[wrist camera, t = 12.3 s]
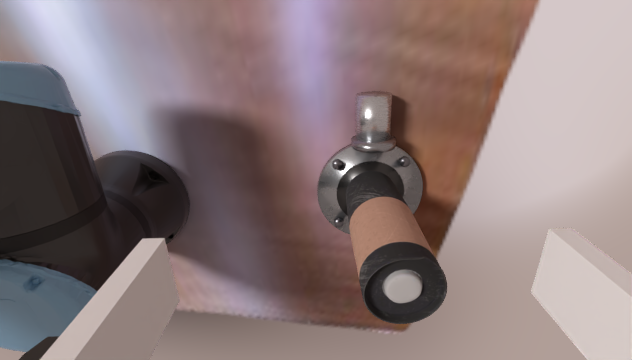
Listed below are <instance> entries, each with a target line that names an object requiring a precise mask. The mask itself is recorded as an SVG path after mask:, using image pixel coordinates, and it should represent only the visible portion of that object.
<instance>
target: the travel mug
mask: <svg viewBox="0 0 632 360" xmlns="http://www.w3.org/2000/svg"><path fill="white" fill-rule="evenodd" d="M346 205H347V213H348V222H349V230H350V235H351V240H352V245H353V250H354V255H355V261H356V266H357V271H358V276H359V281H360V286H361V291H362V296H363V300H364V303H365V305H366V307H367V309H368V310H369V311H370V312H371V313H372V314H373V315H374V316H375V317H377V318H379V319H381V320H383V321H386V322H389V323H395V324H407V323H413V322H416V321H419V320H422V319H424V318H426V317H428V316H430V315H431V314H432V313H434V312H435V311H436V310H437V309H438V308H439V307H440V305H441V304H442V303H443V301H444V299H445V296H446V293H447V282H446V277H445V274H444V272H443V270H442V269H441V267H440V266H439V264H438V262H437V260H436V258H435V256H434V254H433V252H432V250H431V248H430V246H429V244H428V242H427V241H426V239H425V237H424V235H423V233H422V231H421V229H420V227H419V225H418V223H417V221H416V219H415V217H414V216H413V214H412V212H411V210H410V208H409V207H408V205H407V203H406V202H405V200H404V199H403V197H402V195H401V194H400V192H399V191H398V189H397V187H396V186H395V184H394V183H393V181H392V180H391V179H390V178H389V177H388V176H387V175H385V174H383V173H381V172H377V171H367V172H363V173H361V174H359V175H357V176H356V177H354V178H353V179H352V180H351V182H350V183H349V185H348V187H347V190H346Z"/></svg>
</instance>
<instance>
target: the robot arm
mask: <svg viewBox="0 0 632 360" xmlns="http://www.w3.org/2000/svg"><path fill="white" fill-rule="evenodd" d="M79 116H81V114H80V112H79V110H77V109H76V107H75V105H74V102H73V100H72V97H71V95H70V92H69V90H68V87H67V85H66V82H65V80H64V78H63V77H62V76H61V75H60V74H59V73H58V72H57V71H56V70H54V69H53V68H51V67H48V66H46V65H43V64H38V63H26V62H9V61H0V347H2V348H5V349H9V350H14V351H22V352H26V353H25V354H24V355H23V356H22V357H21V358H20V359H19V360H150V357H151V356H152V354H153V352H154V350H155V348H156V346H157V344H158V342H159V340H160V338H161V336H162V334H163V332H164V330H165V328H166V326H167V324H168V322H169V320H170V318H171V316H172V315H173V313H174V311H175V309H176V307H177V305H178V303H179V301H180V299H179V295H178V291H177V287H176V283H175V279H174V275H173V270H172V266H171V262H170V258H169V254H168V250H167V246H166V244H167V243H169V242H170V241H171V240H173V239H174V238H175V237H176V236H177V234H178V233H179V232H180V230H181V229H182V227H183V226H184V224H185V222H186V220H187V218H188V214H189V198H188V194H187V191H186V189H185V186H184V184H183V183H182V181H181V180H180V178H179V177H178V176H177V174H176V173H175V172H174V171H173V170H172V169H171V168H170V167H169V166H167V165H166V164H165V163H163V162H162V161H160V160H158V159H157V158H155V157H153V156H150V155H148V154H145V153H141V152H136V151H116V152H112V153H108V154H106V155H104V156H102V157H100V158H98V159H97V160H95V161H94V160H93V157H92V154H91V151H90V148H89V145H88V142H87V138H86V135H85V132H84V129H83V126H82V123H81V120H80V117H79ZM531 293H532V294H533V295H534V297H535V298H536V299H537V300H538V301H539V303H540V304H541V305H542V306H543V307H544V309H545V310H546V311H547V312H548V313H549V315H550V316H551V317H552V318H553V319H554V321H555V322H556V323H557V324H558V325H559V326H560V328H561V329H562V330H563V331H564V333H565V334H566V335H567V336H568V337H569V339H570V340H571V341H572V342H573V343H574V345H575V346H576V347H577V348H578V349H579V350H580V352H581V353H582V354H583V355H584V357H585V358H586V359H587V360H632V273H631V272H630V271H628V270H627V269H625V268H624V267H623V266H622V265H620V264H619V263H618V262H616V261H615V260H614V259H612V258H611V257H610V256H608V255H607V254H606V253H604V252H603V251H602V250H600V249H599V248H598V247H596V246H595V245H594V244H592V243H591V242H590V241H588V240H587V239H586V238H585V237H583V236H582V235H581V234H579V233H578V232H577V231H575V230H574V229H573V228H550V229H549V231H548V234H547V238H546V241H545V245H544V248H543V252H542V255H541V259H540V262H539V265H538V269H537V272H536V276H535V279H534V283H533V286H532V290H531Z"/></svg>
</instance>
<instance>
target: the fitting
mask: <svg viewBox="0 0 632 360" xmlns="http://www.w3.org/2000/svg"><path fill="white" fill-rule="evenodd" d="M391 106H392V93H389V92H380V91H372V92H361V93H357V94H356V136H353V137H352V144H350V145H348V146H346V147H344V148H342V149H341V150H339V151H338V152H337V153H335V154H334V155H333V156H332V157H331V158H330V159H329V160H328V162H327V163H326V165H325V166H324V168H323V170H322V172H321V174H320V177H319V181H318V201H319V205H320V208H321V210H322V212H323V214H324V216H325V217H326V218H327V220H328V221H329V222H330V223H331V224H332V225H333V226H335V227H336V228H337V229H339V230H341V231H343V232H345V233H347V234H350V230H349V222H348V213H347V205H346V190H347V187H348V185H349V183H350V182H351V180H352V179H353V178H354V177H356V176H357V175H359V174H361V173H363V172H367V171H377V172H381V173H383V174H385V175H387V176H388V177H389V178H390V179H391V180H392V181H393V183H394V184H395V186H396V187H397V189H398V191H399V192H400V194H401V195H402V197H403V199H404V200H405V202H406V203H407V205H408V207H409V208H410V210H411V212H412V214H414V212H415V211H416V209H417V207H418V205H419V203H420V200H421V197H422V191H423V182H422V176H421V173H420V170H419V168H418V166H417V165H416V163H415V161H414V160H413V159H412V158H411V157H410V155H409V154H408V153H407V152H405V151H404V150H403V149H401V148H400V147H398V146H396V138H395V137H394V136H392V135H390V128H391Z"/></svg>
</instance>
